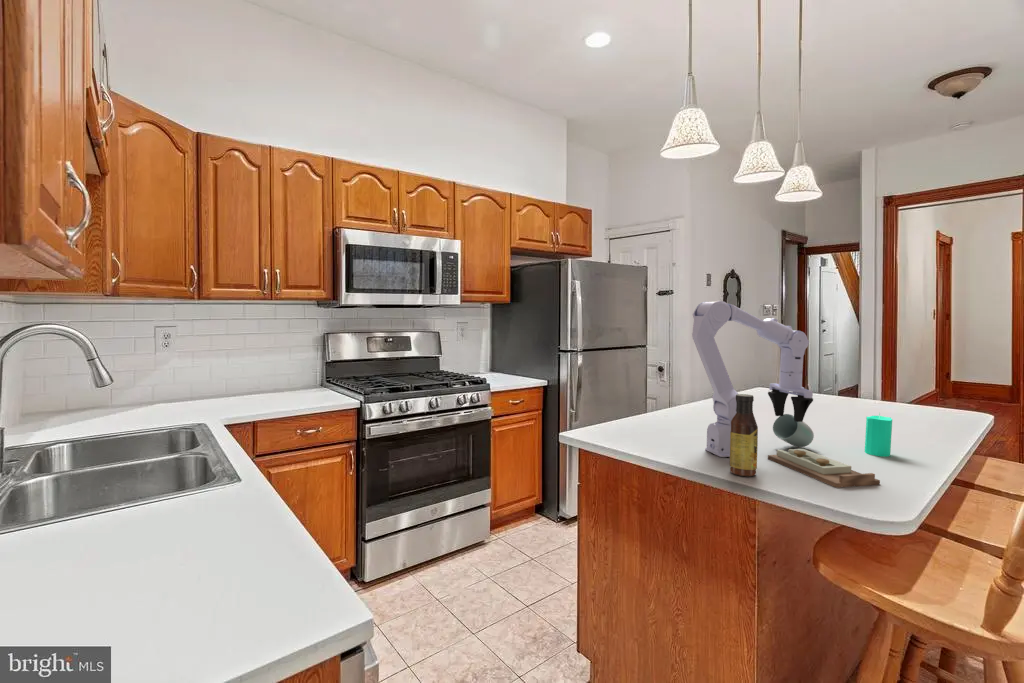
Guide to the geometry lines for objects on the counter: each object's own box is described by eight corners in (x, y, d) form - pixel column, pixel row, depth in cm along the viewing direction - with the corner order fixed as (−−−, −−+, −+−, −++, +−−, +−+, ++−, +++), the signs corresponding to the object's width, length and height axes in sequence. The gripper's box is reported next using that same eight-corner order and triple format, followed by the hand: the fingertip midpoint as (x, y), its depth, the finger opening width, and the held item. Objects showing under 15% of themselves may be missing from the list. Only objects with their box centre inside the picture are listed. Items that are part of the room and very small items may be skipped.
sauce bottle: (759, 478, 123) (762, 397, 122) (732, 476, 124) (735, 396, 123) (752, 470, 129) (755, 393, 128) (726, 468, 130) (729, 392, 129)
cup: (823, 436, 147) (803, 424, 143) (804, 455, 149) (784, 444, 145) (805, 420, 154) (785, 408, 150) (787, 438, 156) (767, 427, 152)
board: (836, 487, 117) (837, 472, 117) (767, 458, 139) (768, 445, 139) (879, 484, 119) (880, 469, 119) (805, 456, 142) (805, 443, 141)
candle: (881, 451, 148) (884, 410, 147) (895, 457, 142) (897, 414, 141) (860, 450, 148) (862, 410, 148) (872, 456, 142) (874, 414, 142)
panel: (823, 474, 123) (823, 468, 123) (776, 455, 139) (777, 449, 139) (851, 472, 125) (851, 466, 124) (802, 454, 140) (802, 448, 140)
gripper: (823, 375, 138) (820, 423, 139) (784, 368, 153) (782, 413, 153) (801, 375, 137) (798, 424, 138) (764, 368, 151) (762, 413, 152)
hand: (788, 418), depth 145 cm, fingers open, 7 cm apart
